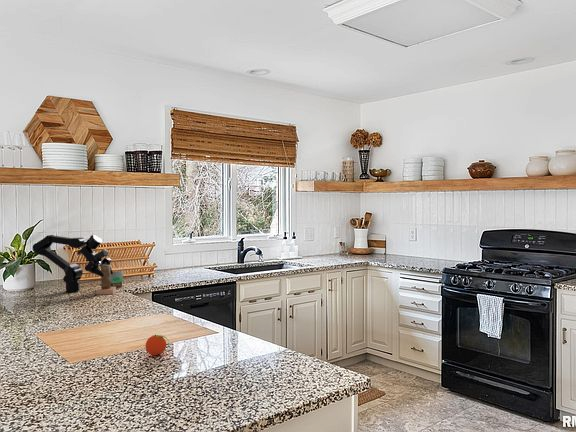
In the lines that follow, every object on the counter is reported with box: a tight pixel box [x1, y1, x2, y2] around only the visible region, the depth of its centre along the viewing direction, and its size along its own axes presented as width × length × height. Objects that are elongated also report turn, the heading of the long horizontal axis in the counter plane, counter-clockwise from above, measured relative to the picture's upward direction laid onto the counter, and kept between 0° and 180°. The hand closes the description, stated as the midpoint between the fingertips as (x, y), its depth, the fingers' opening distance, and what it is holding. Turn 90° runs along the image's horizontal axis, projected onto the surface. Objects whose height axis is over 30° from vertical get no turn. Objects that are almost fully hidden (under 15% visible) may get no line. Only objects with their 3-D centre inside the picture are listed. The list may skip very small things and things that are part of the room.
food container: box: [110, 269, 125, 289], centre depth 298 cm, size 12×6×10 cm, turn 143°
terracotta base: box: [95, 286, 117, 295], centre depth 283 cm, size 9×9×2 cm
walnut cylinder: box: [100, 264, 111, 289], centre depth 283 cm, size 5×5×13 cm
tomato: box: [145, 334, 169, 356], centre depth 172 cm, size 8×7×7 cm
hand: (108, 275), depth 282 cm, fingers open, 9 cm apart
